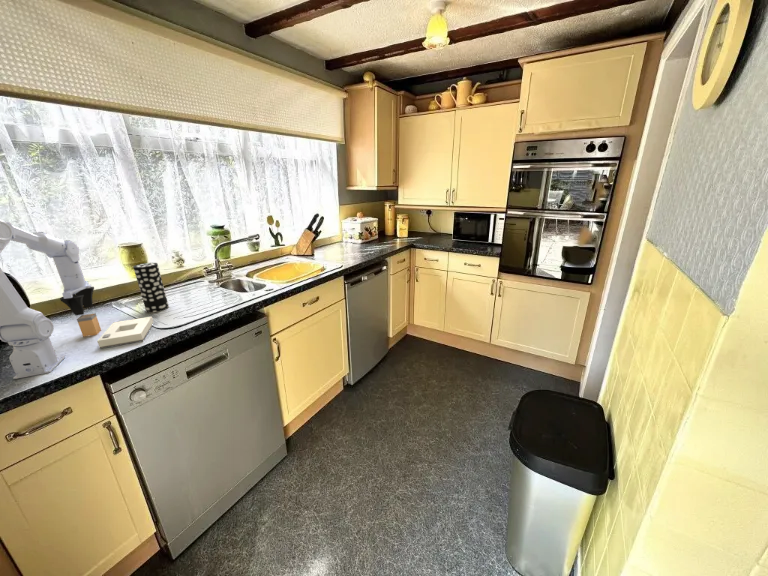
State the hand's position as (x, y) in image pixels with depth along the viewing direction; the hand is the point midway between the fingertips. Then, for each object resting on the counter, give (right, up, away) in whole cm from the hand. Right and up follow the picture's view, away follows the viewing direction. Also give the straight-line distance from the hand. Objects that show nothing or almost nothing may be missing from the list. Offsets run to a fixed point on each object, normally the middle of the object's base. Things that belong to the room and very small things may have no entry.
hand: (84, 310), depth 111 cm
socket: (+15, -9, +1) cm, 18 cm away
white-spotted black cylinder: (+8, -1, +25) cm, 26 cm away
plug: (0, -9, +3) cm, 9 cm away
